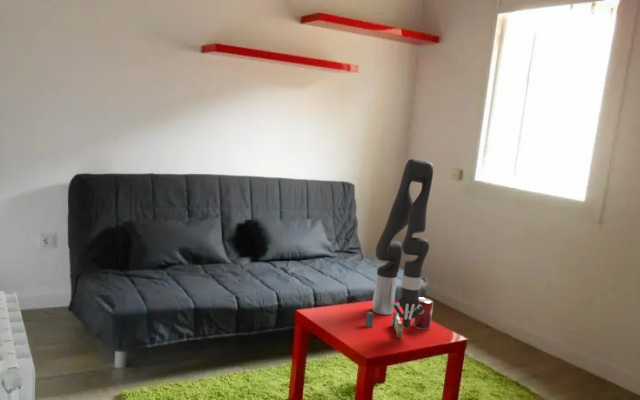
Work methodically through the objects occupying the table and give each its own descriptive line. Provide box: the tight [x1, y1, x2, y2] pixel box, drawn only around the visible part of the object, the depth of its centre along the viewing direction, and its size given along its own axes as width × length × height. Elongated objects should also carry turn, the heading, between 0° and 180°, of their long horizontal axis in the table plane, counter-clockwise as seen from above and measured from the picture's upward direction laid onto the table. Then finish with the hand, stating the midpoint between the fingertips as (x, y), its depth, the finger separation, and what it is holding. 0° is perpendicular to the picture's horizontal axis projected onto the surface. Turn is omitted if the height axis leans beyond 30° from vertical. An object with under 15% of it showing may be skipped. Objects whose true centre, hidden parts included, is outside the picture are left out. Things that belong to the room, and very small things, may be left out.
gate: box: [394, 316, 404, 339], centre depth 233 cm, size 11×2×5 cm, turn 0°
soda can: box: [412, 297, 434, 331], centre depth 243 cm, size 7×7×12 cm
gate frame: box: [365, 311, 401, 329], centre depth 239 cm, size 3×14×6 cm, turn 101°
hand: (405, 327), depth 230 cm, fingers closed
